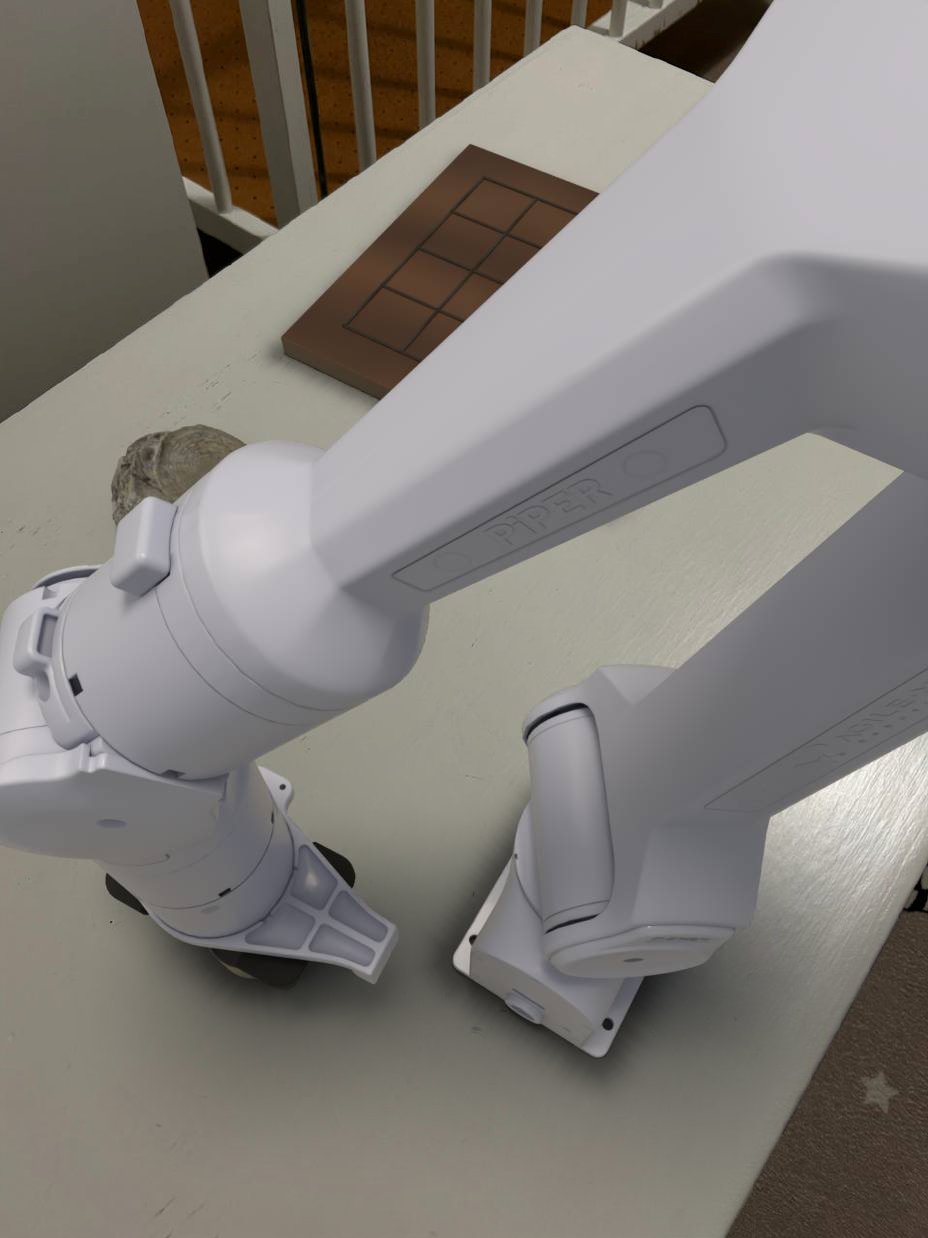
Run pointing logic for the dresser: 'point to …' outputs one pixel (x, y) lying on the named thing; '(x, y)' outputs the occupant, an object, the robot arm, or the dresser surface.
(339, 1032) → the dresser surface
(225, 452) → the fossilized seashell
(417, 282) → the board
